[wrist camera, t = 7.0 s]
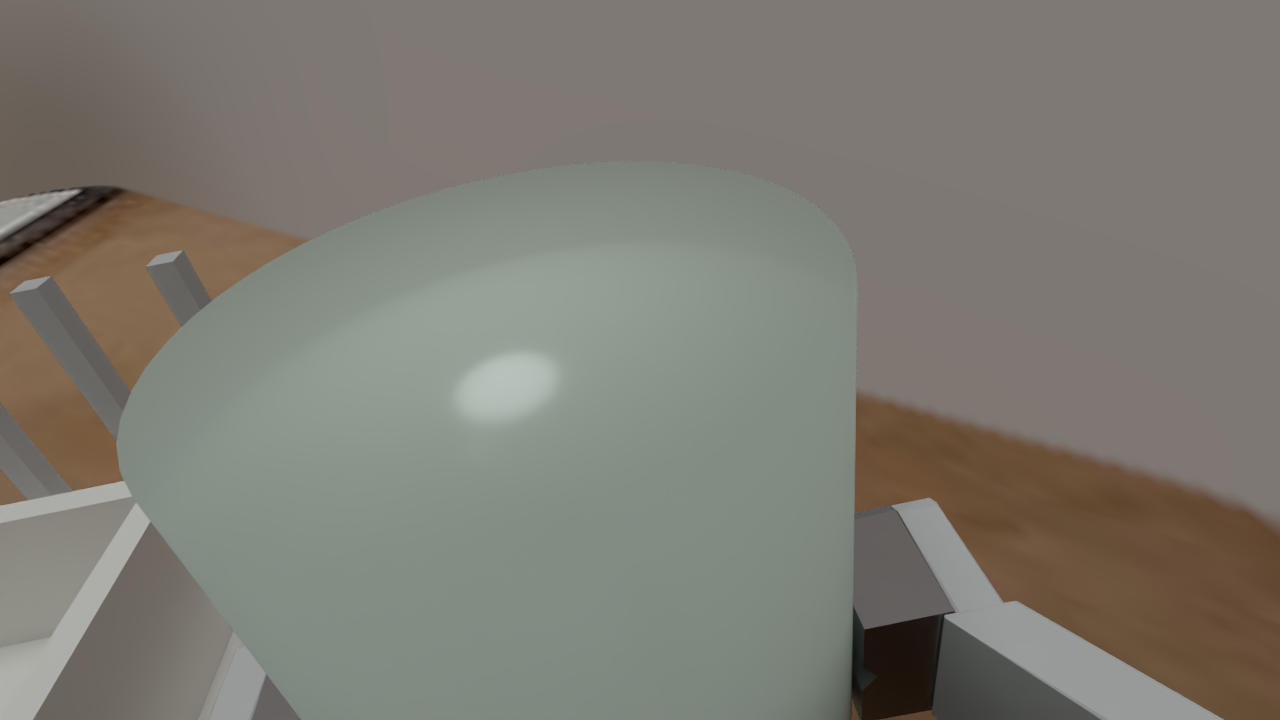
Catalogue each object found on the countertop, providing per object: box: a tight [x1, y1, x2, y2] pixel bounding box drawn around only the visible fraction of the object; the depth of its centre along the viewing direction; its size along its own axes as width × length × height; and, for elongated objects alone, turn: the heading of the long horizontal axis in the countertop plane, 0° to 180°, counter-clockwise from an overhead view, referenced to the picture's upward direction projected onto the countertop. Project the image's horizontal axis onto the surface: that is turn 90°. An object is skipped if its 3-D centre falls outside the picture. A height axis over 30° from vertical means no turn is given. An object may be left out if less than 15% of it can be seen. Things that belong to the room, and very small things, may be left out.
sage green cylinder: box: [116, 161, 858, 720], centre depth 9 cm, size 6×6×11 cm
